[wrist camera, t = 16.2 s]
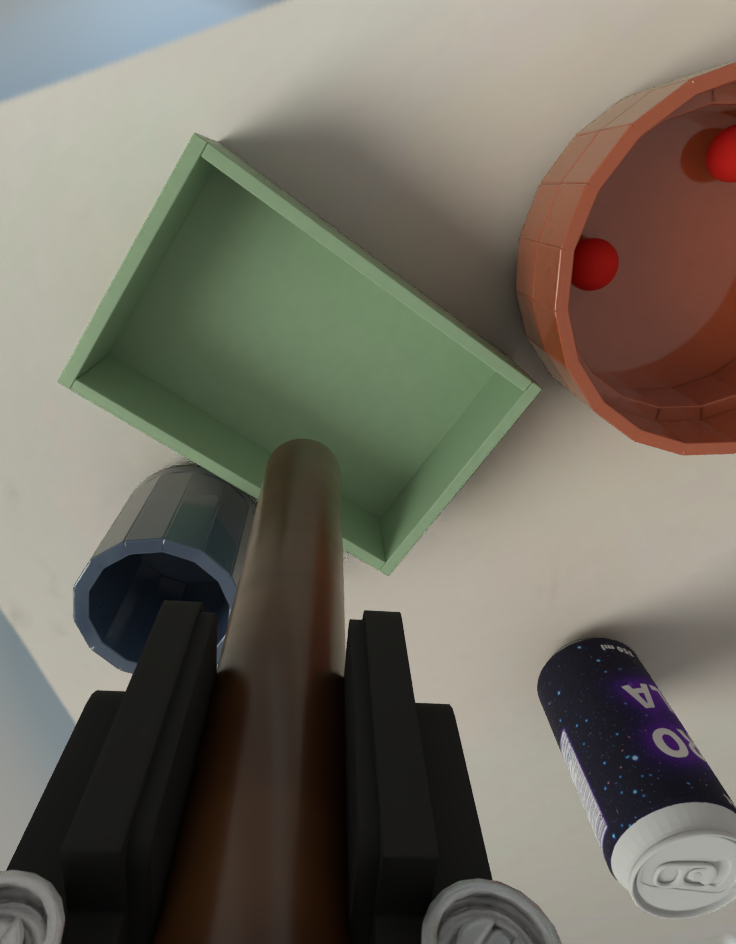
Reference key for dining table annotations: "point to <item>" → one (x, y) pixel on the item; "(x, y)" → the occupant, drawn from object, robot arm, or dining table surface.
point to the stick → (273, 734)
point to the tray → (293, 354)
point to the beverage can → (641, 781)
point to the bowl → (643, 268)
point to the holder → (163, 560)
